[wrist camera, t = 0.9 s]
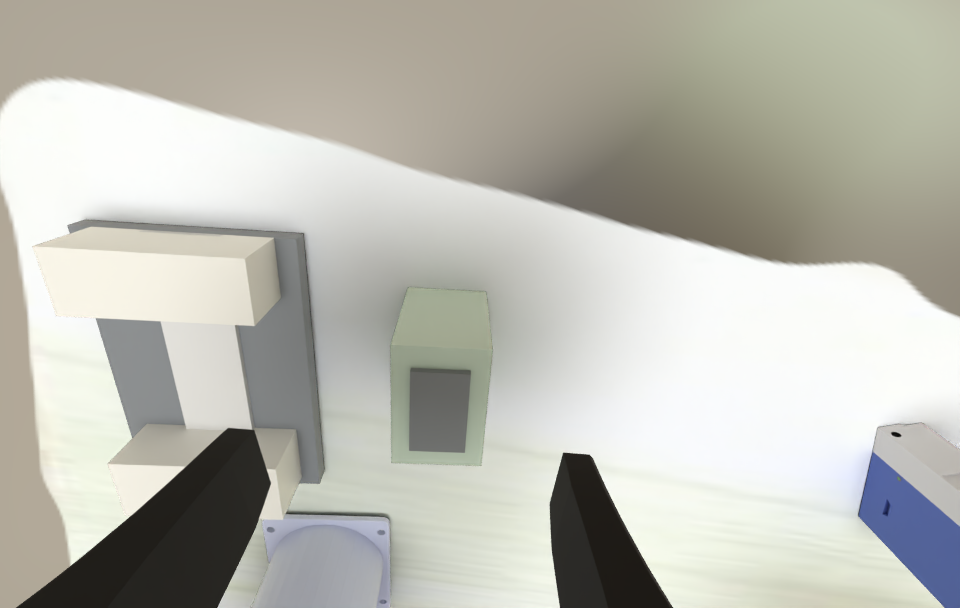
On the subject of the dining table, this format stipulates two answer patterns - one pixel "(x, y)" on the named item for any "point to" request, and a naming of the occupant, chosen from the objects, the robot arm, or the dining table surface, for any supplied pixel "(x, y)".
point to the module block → (440, 377)
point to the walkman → (917, 505)
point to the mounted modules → (171, 298)
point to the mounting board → (223, 360)
